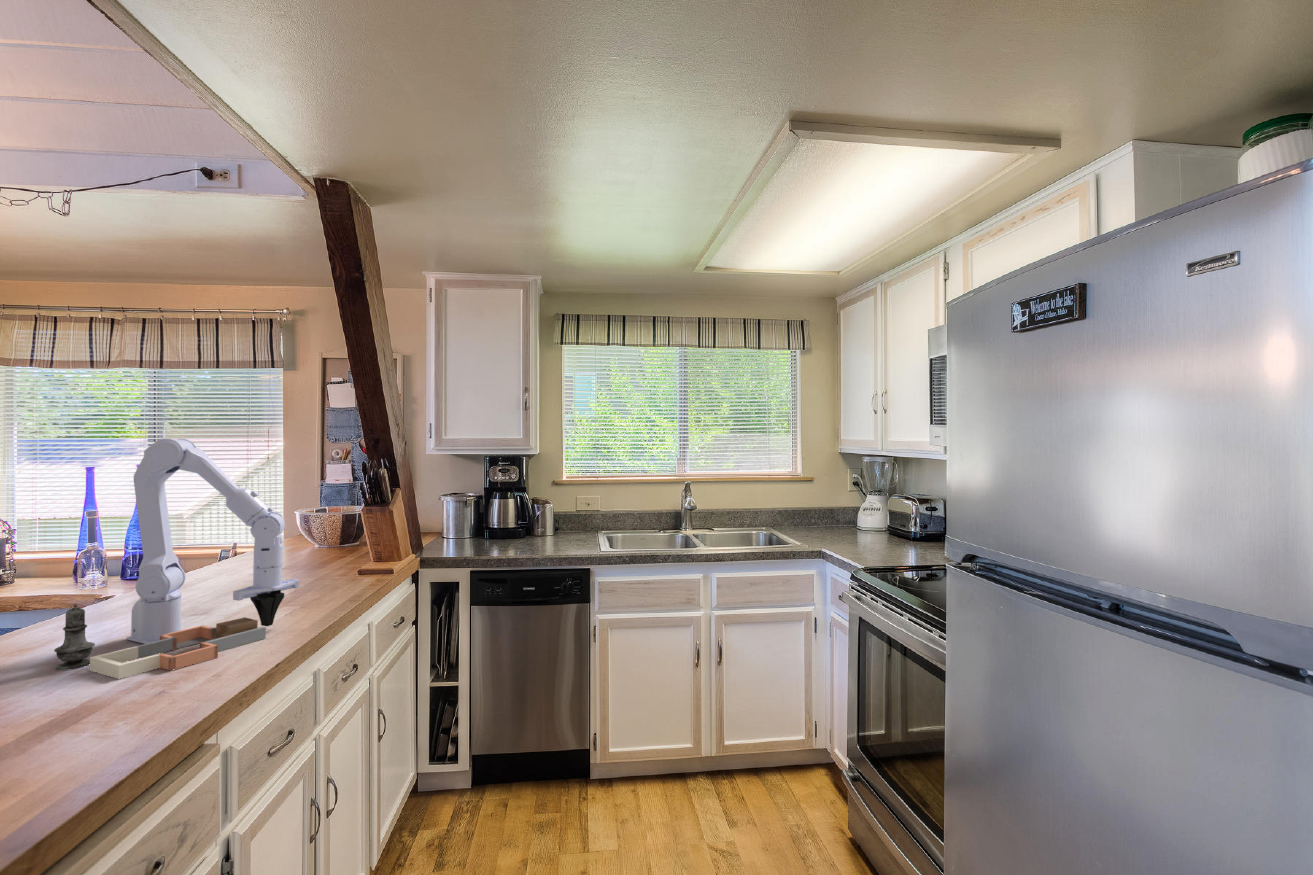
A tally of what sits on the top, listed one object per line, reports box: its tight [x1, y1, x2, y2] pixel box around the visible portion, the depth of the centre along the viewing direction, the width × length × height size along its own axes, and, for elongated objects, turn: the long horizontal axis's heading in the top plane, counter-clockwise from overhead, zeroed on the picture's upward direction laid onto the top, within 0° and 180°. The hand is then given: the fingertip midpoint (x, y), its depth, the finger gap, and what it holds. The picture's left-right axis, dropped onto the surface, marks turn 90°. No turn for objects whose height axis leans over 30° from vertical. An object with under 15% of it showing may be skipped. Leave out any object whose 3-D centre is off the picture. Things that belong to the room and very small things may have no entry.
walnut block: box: [215, 617, 259, 639], centre depth 143 cm, size 5×6×4 cm
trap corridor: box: [89, 624, 267, 680], centre depth 133 cm, size 17×28×2 cm, turn 155°
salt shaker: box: [53, 603, 96, 671], centre depth 126 cm, size 6×6×12 cm
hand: (266, 625), depth 149 cm, fingers closed
